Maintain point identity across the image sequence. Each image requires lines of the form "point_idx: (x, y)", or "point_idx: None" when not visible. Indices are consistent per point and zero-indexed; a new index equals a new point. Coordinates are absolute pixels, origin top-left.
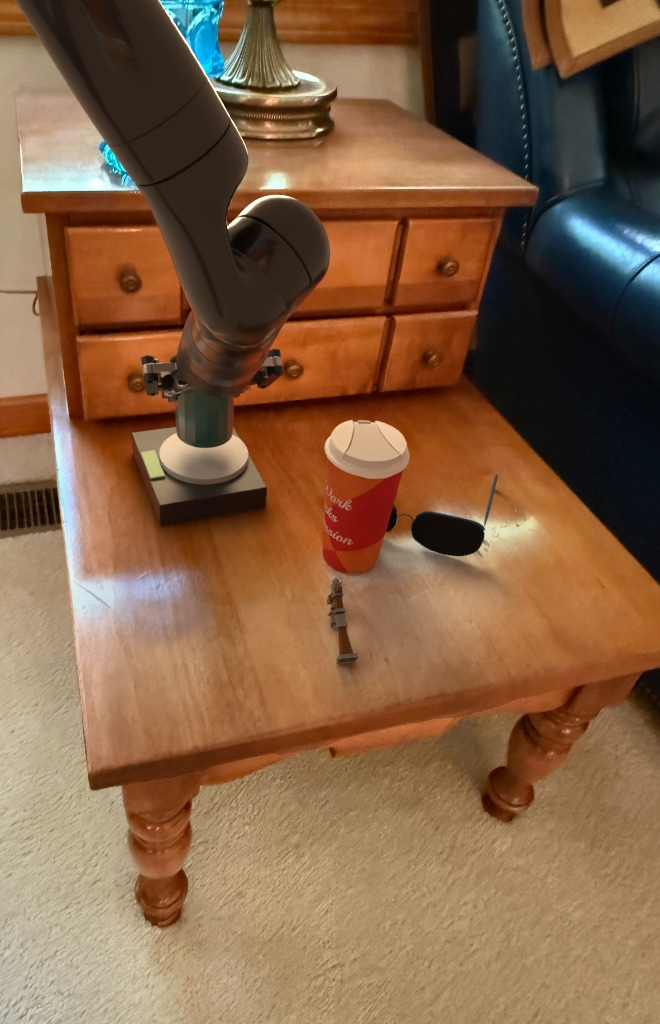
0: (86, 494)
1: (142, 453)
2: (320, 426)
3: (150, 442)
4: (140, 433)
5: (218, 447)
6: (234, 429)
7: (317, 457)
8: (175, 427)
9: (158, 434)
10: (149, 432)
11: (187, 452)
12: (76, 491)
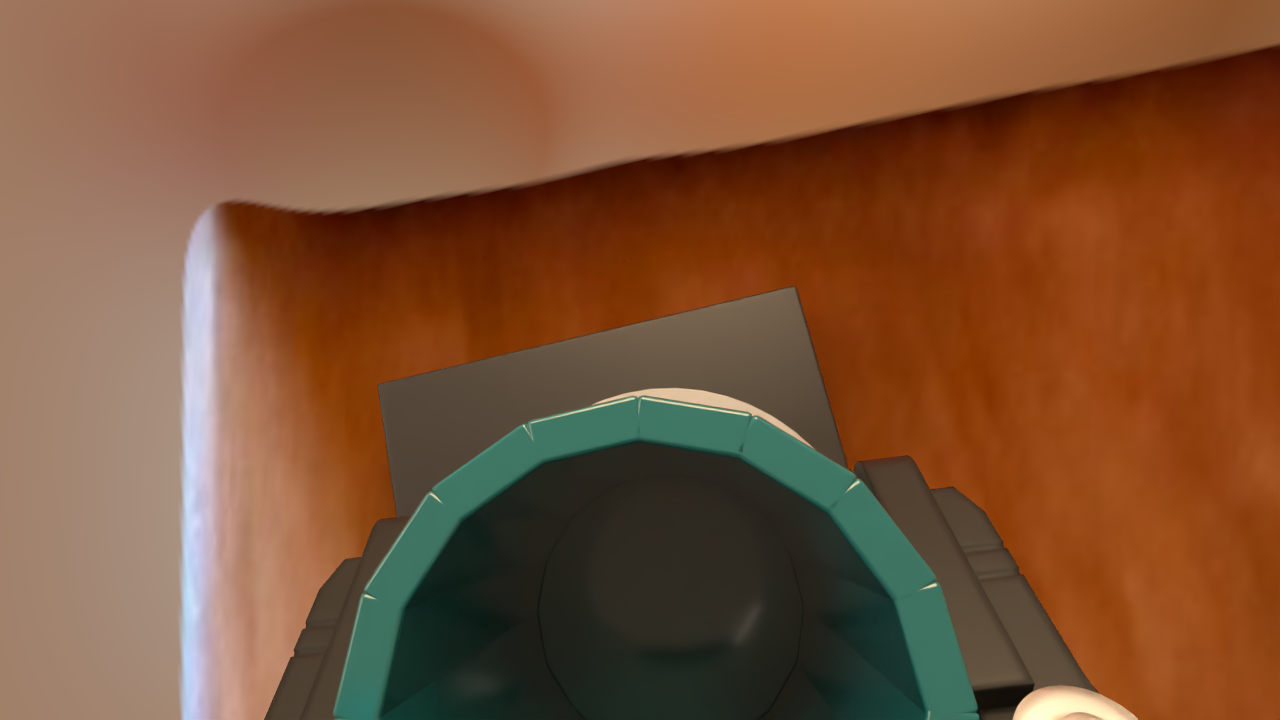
0: (244, 650)
1: None
2: (1168, 220)
3: (448, 459)
4: (412, 390)
5: None
6: (815, 363)
7: (1149, 440)
8: (558, 346)
9: (485, 399)
10: (448, 384)
11: None
12: (211, 629)
